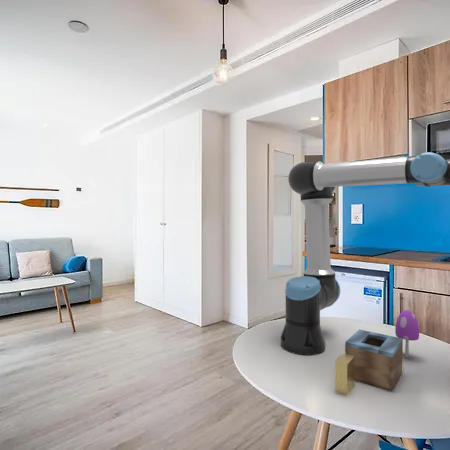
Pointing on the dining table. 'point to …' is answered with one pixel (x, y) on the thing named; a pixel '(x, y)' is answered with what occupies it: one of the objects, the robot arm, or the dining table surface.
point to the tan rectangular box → (344, 374)
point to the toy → (407, 328)
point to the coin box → (376, 358)
